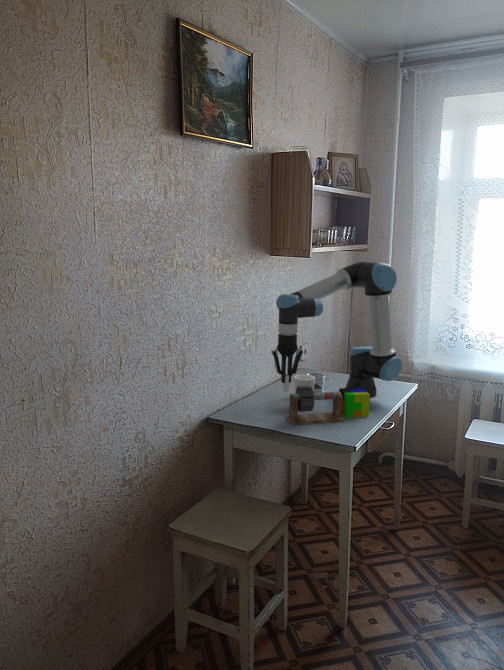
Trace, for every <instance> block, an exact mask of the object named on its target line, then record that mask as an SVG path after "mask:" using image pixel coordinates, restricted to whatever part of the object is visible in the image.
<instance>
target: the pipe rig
mask: <svg viewBox="0 0 504 670" xmlns="http://www.w3.org/2000/svg"><path fill="white" fill-rule="evenodd" d="M313 398H314V401H324V400H325V401H327V400H328V401H329V400H332V411H328V412H310V413H308V412H307V413H298V412H299V411H298V401H300V399H301V398H300V394H295V393H290V394H289V410H288V411H289V413H288V414H286V419H287V420H288V421H289V423H291V424H292V425H293V426H295V425H296V426H297V425H310V424H311V425H313V424H328V423H344V422H345V418H343V416H342V413H341V411H342V395H341V392H339V391H330V392H314V397H313Z"/></svg>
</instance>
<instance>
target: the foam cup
mask: <svg viewBox="0 0 504 670" xmlns="http://www.w3.org/2000/svg"><path fill="white" fill-rule="evenodd" d="M293 384H294V393H295V392H296V389H297V387H298V386H311V387H312V389H313V390H314V389H315V384H316V376H314V375H311V374H296V375H294V377H293Z"/></svg>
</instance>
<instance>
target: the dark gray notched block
mask: <svg viewBox="0 0 504 670" xmlns="http://www.w3.org/2000/svg"><path fill="white" fill-rule="evenodd" d="M314 393H315V392H314V389H312V387H311V386H298V387H297V389H296V392H295V391H294V394H300V398H301V399H300V401H298V412H300V413H304V412H305V413H306V412H313V411H314V408H315V407H314V406H315V400H314V398H313V397H314Z"/></svg>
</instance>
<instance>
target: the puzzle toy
mask: <svg viewBox="0 0 504 670" xmlns="http://www.w3.org/2000/svg"><path fill="white" fill-rule="evenodd" d="M338 390H339V391H338V392H341V395H342V411H341V415H342V416H343V417H345V418H348V419H349V418H367V417H369V415H370V414H369V413H370V399H371V397H370V394H369V393H368V392H366V391H365V390H364V389H362V388H345V387H340V388H339V389H338Z"/></svg>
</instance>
